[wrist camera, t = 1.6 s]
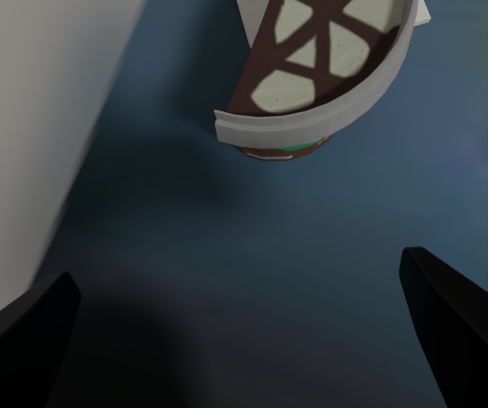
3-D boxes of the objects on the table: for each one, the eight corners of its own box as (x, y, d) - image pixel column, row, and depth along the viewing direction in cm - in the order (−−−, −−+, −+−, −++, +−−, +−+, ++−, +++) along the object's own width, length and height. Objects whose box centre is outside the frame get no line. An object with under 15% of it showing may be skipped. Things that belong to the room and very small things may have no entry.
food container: (327, 210, 22) (367, 181, 12) (239, 177, 23) (208, 124, 13) (392, 39, 23) (480, -120, 13) (305, 13, 24) (324, -155, 14)
